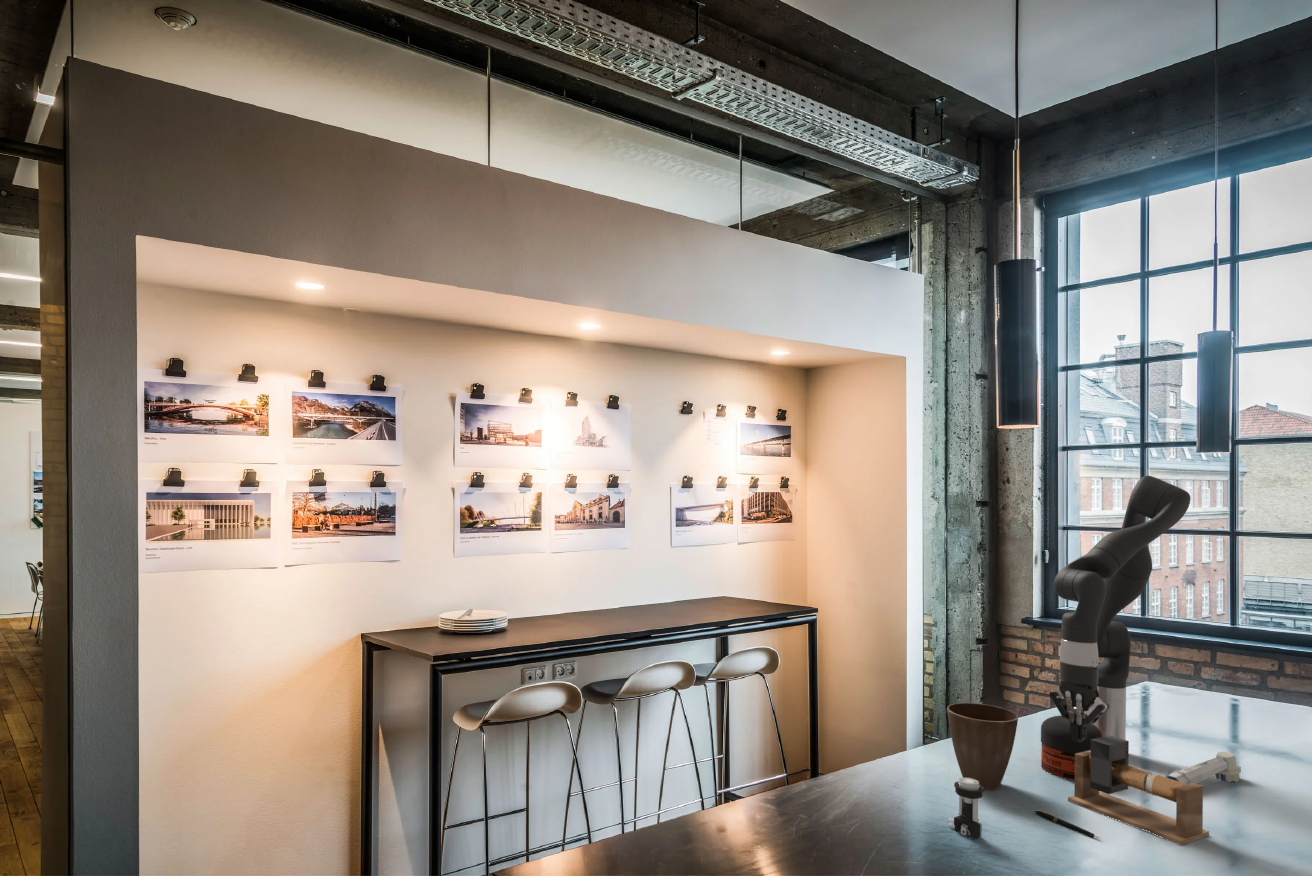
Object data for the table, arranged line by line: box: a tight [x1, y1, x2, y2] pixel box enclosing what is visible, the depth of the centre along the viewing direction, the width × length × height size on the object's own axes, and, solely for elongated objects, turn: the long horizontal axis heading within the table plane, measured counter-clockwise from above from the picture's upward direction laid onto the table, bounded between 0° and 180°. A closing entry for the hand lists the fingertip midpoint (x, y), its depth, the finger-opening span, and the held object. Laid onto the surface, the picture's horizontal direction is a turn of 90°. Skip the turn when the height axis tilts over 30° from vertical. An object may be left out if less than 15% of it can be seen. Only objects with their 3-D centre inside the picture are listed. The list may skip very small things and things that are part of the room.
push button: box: [948, 777, 985, 840], centre depth 157 cm, size 7×5×10 cm
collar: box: [1090, 736, 1130, 795], centre depth 172 cm, size 4×7×10 cm, turn 120°
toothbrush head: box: [1165, 751, 1242, 784], centre depth 188 cm, size 5×7×25 cm
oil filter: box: [1040, 715, 1102, 782], centre depth 193 cm, size 13×12×13 cm
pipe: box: [1086, 754, 1187, 803], centre depth 167 cm, size 19×4×4 cm, turn 30°
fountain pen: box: [1033, 808, 1102, 840], centre depth 161 cm, size 14×1×2 cm, turn 30°
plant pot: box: [946, 702, 1019, 790], centre depth 183 cm, size 15×15×16 cm
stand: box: [1067, 750, 1210, 846], centre depth 167 cm, size 23×10×10 cm, turn 30°
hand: (1078, 740), depth 178 cm, fingers closed
